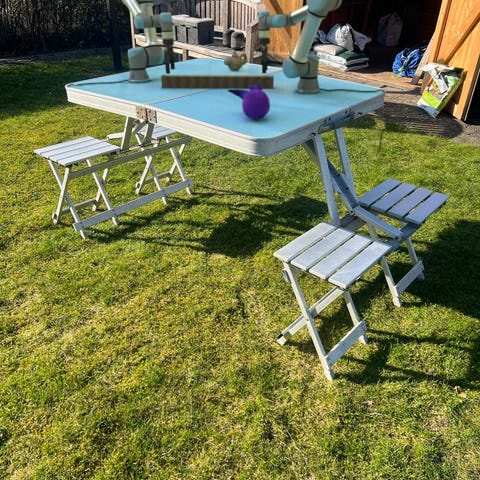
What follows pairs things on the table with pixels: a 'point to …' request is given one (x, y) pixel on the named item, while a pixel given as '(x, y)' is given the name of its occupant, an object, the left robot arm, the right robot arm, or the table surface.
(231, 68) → the teapot
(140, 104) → the table surface
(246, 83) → the bar
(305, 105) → the table surface
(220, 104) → the table surface
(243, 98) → the toy
